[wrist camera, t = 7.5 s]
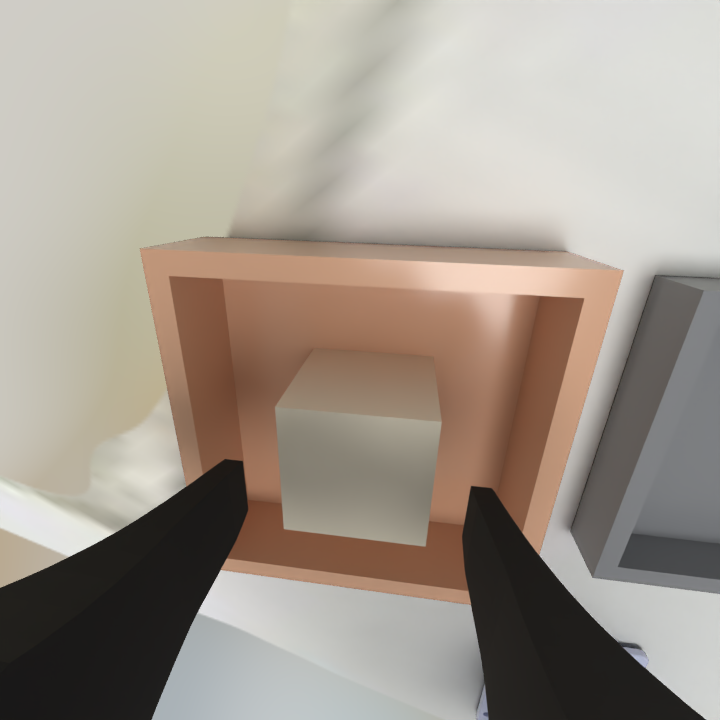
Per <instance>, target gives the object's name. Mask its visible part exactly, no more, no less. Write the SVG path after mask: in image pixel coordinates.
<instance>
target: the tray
mask: <svg viewBox="0 0 720 720" xmlns="http://www.w3.org/2000/svg"><path fill="white" fill-rule="evenodd" d="M571 533H572V536H573V538H574V540H575V542H576V544H577V546H578V548H579V550H580V552H581V555H582V557H583V559H584V561H585V563H586V565H587V567H588V569H589V571H590V573H591V576H592V578H599V579H607V580H615V581H623V582H631V583H638V584H646V585H654V586H662V587H670V588H678V589H685V590H693V591H701V592H709V593H717V594H720V278H702V277H680V276H659V275H656V276H655V279H654V282H653V285H652V288H651V291H650V294H649V297H648V300H647V303H646V306H645V309H644V312H643V315H642V318H641V321H640V324H639V327H638V330H637V333H636V336H635V339H634V342H633V345H632V348H631V351H630V354H629V357H628V360H627V363H626V366H625V369H624V372H623V375H622V378H621V381H620V384H619V387H618V390H617V393H616V396H615V399H614V402H613V405H612V408H611V411H610V414H609V417H608V420H607V423H606V426H605V429H604V432H603V435H602V438H601V441H600V444H599V447H598V450H597V453H596V456H595V460H594V463H593V466H592V469H591V472H590V475H589V478H588V481H587V484H586V487H585V490H584V493H583V496H582V499H581V502H580V505H579V508H578V511H577V514H576V517H575V520H574V523H573V526H572V529H571Z"/></svg>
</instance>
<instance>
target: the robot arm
mask: <svg viewBox="0 0 720 720" xmlns="http://www.w3.org/2000/svg"><path fill="white" fill-rule="evenodd" d="M247 512H248V501H247V492H246V484H245V475H244V466H243V461H239V460H230V459H224V460H223V461H221V462H220V463H218V464H217V465H216V466H214V467H213V468H211V469H210V470H209V471H207V472H206V473H204V474H203V475H202V476H200V477H199V478H198V479H196V480H195V481H193V482H192V483H191V484H189V485H188V486H186V487H185V488H184V489H182V490H181V491H179V492H178V493H177V494H175V495H174V496H172V497H171V498H170V499H168V500H167V501H165V502H164V503H162V504H160V505H159V506H157V507H156V508H154V509H153V510H151V511H150V512H148V513H147V514H145V515H144V516H142V517H141V518H139V519H138V520H136V521H134V522H133V523H131V524H129V525H128V526H126V527H124V528H123V529H121V530H119V531H118V532H116V533H114V534H112V535H110V536H109V537H107V538H105V539H103V540H102V541H100V542H98V543H96V544H94V545H92V546H90V547H88V548H86V549H84V550H82V551H80V552H78V553H76V554H74V555H72V556H70V557H68V558H66V559H64V560H62V561H60V562H58V563H56V564H54V565H52V566H50V567H48V568H45V569H43V570H41V571H39V572H37V573H34V574H32V575H30V576H28V577H25V578H23V579H21V580H18V581H16V582H13V583H11V584H8V585H6V586H4V587H1V588H0V720H151V719H152V717H153V714H154V712H155V709H156V707H157V704H158V702H159V699H160V697H161V694H162V692H163V689H164V687H165V685H166V682H167V680H168V677H169V675H170V672H171V670H172V668H173V665H174V663H175V661H176V658H177V656H178V654H179V651H180V649H181V647H182V645H183V642H184V640H185V638H186V636H187V633H188V631H189V629H190V626H191V624H192V622H193V620H194V618H195V616H196V614H197V612H198V610H199V609H200V607H201V605H202V603H203V601H204V599H205V598H206V596H207V594H208V592H209V590H210V588H211V587H212V585H213V583H214V581H215V579H216V577H217V576H218V574H219V572H220V570H221V568H222V566H223V565H224V563H225V561H226V559H227V557H228V555H229V553H230V552H231V550H232V548H233V546H234V544H235V542H236V540H237V538H238V535H239V533H240V530H241V528H242V525H243V523H244V520H245V518H246V515H247ZM462 544H463V557H464V568H465V575H466V580H467V586H468V591H469V596H470V602H471V607H472V612H473V617H474V622H475V628H476V633H477V638H478V643H479V648H480V653H481V660H482V666H483V673H484V681H485V684H484V688H483V691H482V695H481V699H480V703H479V706H478V710H477V714H476V718H477V720H706V719H704V718H703V717H702V716H701V715H699V714H698V713H697V712H696V711H694V710H693V709H692V708H691V707H689V706H688V705H687V704H686V703H685V702H683V701H682V700H681V699H680V698H679V697H678V696H677V695H675V694H674V693H673V692H672V691H671V690H670V689H668V688H667V687H666V686H665V685H664V684H663V683H661V682H660V681H659V680H658V679H657V678H656V677H654V676H653V675H652V674H651V673H650V672H649V671H648V670H647V669H646V666H647V664H648V662H649V660H648V658H647V656H646V654H645V652H644V651H642V650H640V649H634V648H627V647H622V646H621V645H620V644H619V643H618V642H617V641H616V640H615V639H614V638H613V637H612V636H611V635H609V634H608V633H607V632H606V631H605V630H604V629H603V628H602V627H601V626H600V625H599V624H598V623H597V622H596V621H595V620H594V619H593V618H592V617H591V615H590V614H589V613H588V612H587V611H586V610H585V609H584V608H583V607H582V606H581V605H580V604H579V602H578V601H577V600H576V599H575V598H574V597H573V596H572V595H571V594H570V592H569V591H568V590H567V589H566V588H565V587H564V586H563V584H562V583H561V582H560V581H559V580H558V578H557V577H556V576H555V575H554V573H553V572H552V571H551V570H550V569H549V567H548V566H547V565H546V564H545V562H544V561H543V560H542V559H541V557H540V556H539V555H538V553H537V552H536V551H535V549H534V548H533V547H532V545H531V544H530V543H529V541H528V540H527V539H526V537H525V536H524V534H523V533H522V532H521V530H520V529H519V527H518V526H517V525H516V523H515V522H514V520H513V519H512V517H511V516H510V514H509V513H508V511H507V510H506V508H505V507H504V505H503V504H502V502H501V501H500V499H499V497H498V496H497V494H496V493H495V491H494V490H493V489H492V488H487V487H477V486H471V488H470V494H469V499H468V505H467V511H466V516H465V522H464V527H463V533H462Z"/></svg>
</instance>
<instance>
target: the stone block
mask: <svg viewBox="0 0 720 720" xmlns="http://www.w3.org/2000/svg"><path fill="white" fill-rule="evenodd" d="M275 414H276V428H277V442H278V455H279V469H280V483H281V497H282V510H283V524H284V529H287V530H295V531H303V532H311V533H320V534H328V535H336V536H344V537H352V538H360V539H368V540H376V541H384V542H392V543H400V544H408V545H416V546H424V547H426V540H427V532H428V524H429V516H430V509H431V501H432V493H433V486H434V478H435V470H436V462H437V455H438V447H439V439H440V432H441V424H442V420H441V413H440V405H439V397H438V390H437V382H436V374H435V367H434V359H433V356H420V355H406V354H392V353H377V352H363V351H349V350H335V349H321V348H314V349H313V350H312V352H311V353H310V355H309V356H308V358H307V359H306V361H305V362H304V364H303V365H302V367H301V368H300V370H299V371H298V373H297V375H296V376H295V378H294V379H293V381H292V382H291V384H290V385H289V387H288V388H287V390H286V391H285V393H284V394H283V396H282V397H281V399H280V400H279V402H278V403H277V405H276V406H275Z"/></svg>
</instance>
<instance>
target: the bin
mask: <svg viewBox="0 0 720 720" xmlns="http://www.w3.org/2000/svg"><path fill="white" fill-rule="evenodd" d="M140 252H141V257H142V262H143V268H144V273H145V278H146V283H147V287H148V293H149V298H150V303H151V308H152V313H153V318H154V323H155V328H156V334H157V339H158V344H159V348H160V354H161V359H162V364H163V369H164V374H165V379H166V384H167V389H168V394H169V400H170V405H171V410H172V415H173V420H174V425H175V430H176V435H177V440H178V445H179V450H180V455H181V460H182V466H183V471H184V476H185V481H186V486H188V485H189V484H191V483H192V482H193V481H195V480H196V479H198V478H199V477H200V476H202V475H203V474H204V473H206V472H207V471H209V470H210V469H211V468H213V467H214V466H216V465H217V464H218V463H220V462H221V461H223V460H224V459H230V460H239V461H243V466H244V475H245V484H246V492H247V501H248V512H247V515H246V518H245V520H244V523H243V525H242V528H241V530H240V533H239V535H238V538H237V540H236V542H235V544H234V546H233V548H232V550H231V552H230V553H229V555H228V557H227V559H226V561H225V563H224V565H223V566H222V568H221V570H225V571H232V572H239V573H247V574H254V575H261V576H268V577H275V578H282V579H290V580H297V581H304V582H311V583H318V584H325V585H333V586H340V587H347V588H354V589H361V590H369V591H376V592H383V593H390V594H397V595H404V596H412V597H419V598H426V599H433V600H440V601H447V602H455V603H462V604H469V605H471V602H470V596H469V591H468V586H467V580H466V575H465V568H464V557H463V544H462V533H463V527H464V522H465V516H466V511H467V505H468V499H469V494H470V488H471V486H477V487H487V488H492V489H493V490H494V491H495V493H496V494H497V496H498V497H499V499H500V501H501V502H502V504H503V505H504V507H505V508H506V510H507V511H508V513H509V514H510V516H511V517H512V519H513V520H514V522H515V523H516V525H517V526H518V527H519V529H520V530H521V532H522V533H523V534H524V536H525V537H526V539H527V540H528V541H529V543H530V544H531V545H532V547H533V548H534V549H535V551H536V552H537V553H538V555H539V554H540V550H541V547H542V544H543V540H544V537H545V533H546V530H547V527H548V523H549V520H550V517H551V513H552V510H553V507H554V503H555V500H556V496H557V493H558V490H559V486H560V483H561V480H562V476H563V473H564V470H565V466H566V463H567V460H568V456H569V453H570V449H571V446H572V443H573V439H574V436H575V433H576V429H577V426H578V423H579V419H580V416H581V413H582V409H583V406H584V402H585V399H586V396H587V392H588V389H589V386H590V382H591V379H592V376H593V372H594V369H595V365H596V362H597V359H598V355H599V352H600V349H601V345H602V342H603V339H604V335H605V332H606V329H607V325H608V322H609V318H610V315H611V312H612V308H613V305H614V302H615V298H616V295H617V292H618V288H619V285H620V282H621V278H622V275H623V270H620V269H617V268H614V267H612V266H609V265H606V264H603V263H600V262H597V261H594V260H591V259H588V258H585V257H582V256H579V255H576V254H573V253H570V252H563V251H539V250H515V249H491V248H467V247H442V246H418V245H394V244H370V243H345V242H321V241H297V240H273V239H248V238H224V237H200V238H195V239H189V240H184V241H179V242H173V243H168V244H162V245H157V246H151V247H146V248H140ZM314 348H321V349H335V350H349V351H363V352H377V353H392V354H406V355H420V356H433V359H434V367H435V374H436V382H437V390H438V397H439V405H440V413H441V420H442V424H441V432H440V439H439V447H438V455H437V462H436V470H435V478H434V486H433V493H432V501H431V509H430V516H429V524H428V532H427V540H426V547H424V546H416V545H408V544H400V543H392V542H384V541H376V540H368V539H360V538H352V537H344V536H336V535H328V534H320V533H311V532H303V531H295V530H287V529H284V524H283V510H282V497H281V483H280V469H279V455H278V442H277V428H276V414H275V406H276V405H277V403H278V402H279V400H280V399H281V397H282V396H283V394H284V393H285V391H286V390H287V388H288V387H289V385H290V384H291V382H292V381H293V379H294V378H295V376H296V375H297V373H298V371H299V370H300V368H301V367H302V365H303V364H304V362H305V361H306V359H307V358H308V356H309V355H310V353H311V352H312V350H313V349H314Z"/></svg>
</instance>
